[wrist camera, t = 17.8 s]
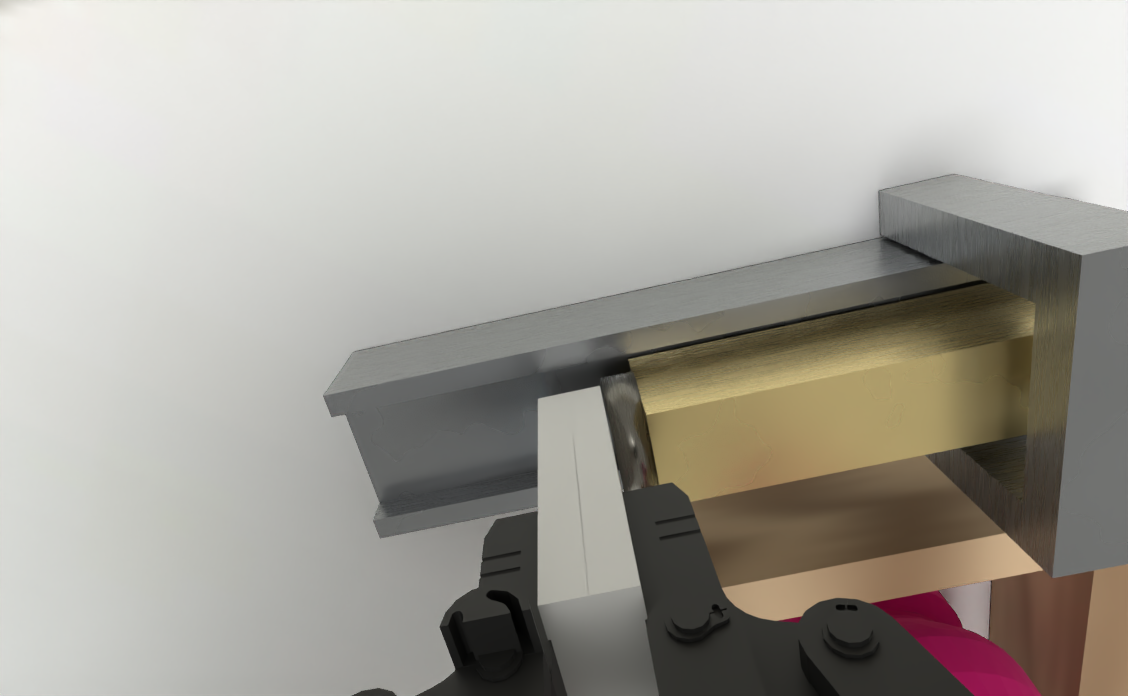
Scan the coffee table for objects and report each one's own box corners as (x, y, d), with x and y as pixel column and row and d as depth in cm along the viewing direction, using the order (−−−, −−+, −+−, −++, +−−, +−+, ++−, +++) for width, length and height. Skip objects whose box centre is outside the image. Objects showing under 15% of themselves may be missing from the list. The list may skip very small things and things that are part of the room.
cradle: (693, 774, 26) (718, 889, 22) (637, 508, 21) (658, 600, 17) (1024, 714, 25) (1108, 823, 21) (1047, 426, 20) (1161, 503, 17)
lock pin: (615, 451, 18) (630, 521, 15) (596, 358, 16) (607, 414, 14) (1021, 368, 17) (1114, 424, 14) (1026, 267, 16) (1129, 306, 13)
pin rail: (413, 513, 21) (355, 710, 14) (337, 309, 18) (225, 437, 12) (1050, 383, 20) (1300, 531, 13) (1069, 148, 17) (1393, 189, 11)
